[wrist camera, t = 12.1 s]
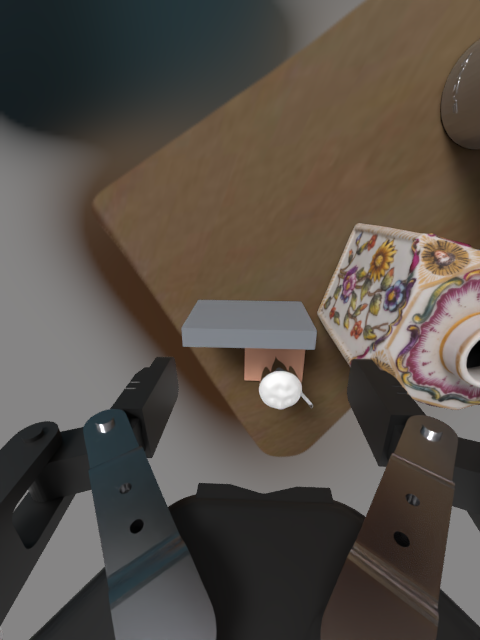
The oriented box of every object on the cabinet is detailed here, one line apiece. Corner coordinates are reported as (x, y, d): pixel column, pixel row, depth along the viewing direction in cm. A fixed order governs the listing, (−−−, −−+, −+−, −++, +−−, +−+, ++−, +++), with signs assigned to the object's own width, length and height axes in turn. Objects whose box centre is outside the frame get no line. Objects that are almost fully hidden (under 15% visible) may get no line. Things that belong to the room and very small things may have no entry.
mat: (306, 327, 36) (307, 329, 35) (301, 379, 39) (301, 381, 38) (245, 326, 36) (245, 327, 35) (244, 377, 39) (244, 380, 38)
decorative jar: (313, 313, 35) (368, 408, 18) (352, 220, 31) (472, 233, 14) (399, 339, 36) (527, 452, 19) (449, 252, 31) (671, 299, 15)
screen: (301, 301, 34) (316, 331, 26) (299, 316, 35) (314, 349, 27) (198, 299, 35) (181, 328, 27) (199, 314, 36) (182, 346, 27)
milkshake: (293, 371, 38) (307, 424, 28) (254, 365, 37) (255, 416, 28) (301, 342, 36) (318, 388, 27) (260, 335, 36) (264, 379, 26)
